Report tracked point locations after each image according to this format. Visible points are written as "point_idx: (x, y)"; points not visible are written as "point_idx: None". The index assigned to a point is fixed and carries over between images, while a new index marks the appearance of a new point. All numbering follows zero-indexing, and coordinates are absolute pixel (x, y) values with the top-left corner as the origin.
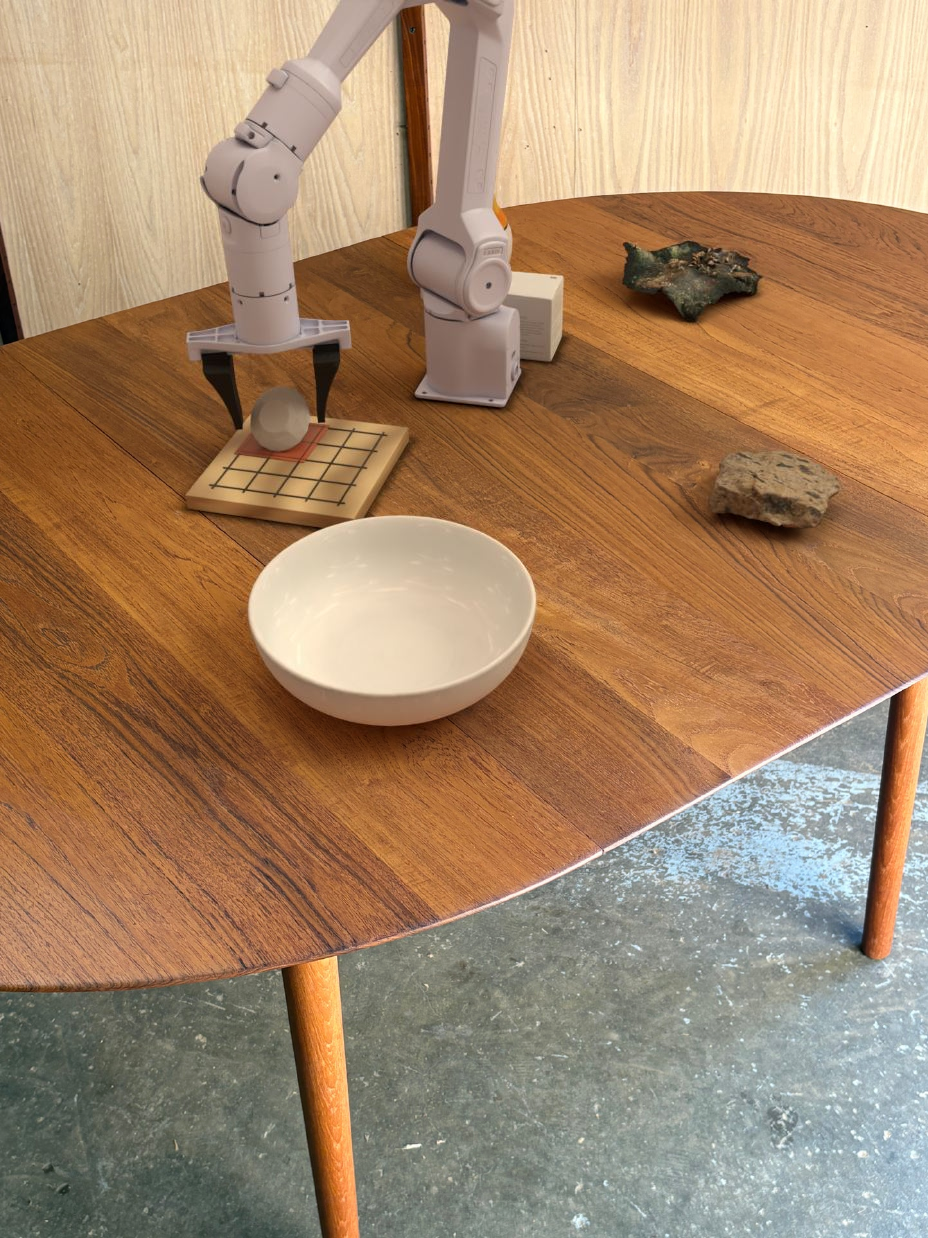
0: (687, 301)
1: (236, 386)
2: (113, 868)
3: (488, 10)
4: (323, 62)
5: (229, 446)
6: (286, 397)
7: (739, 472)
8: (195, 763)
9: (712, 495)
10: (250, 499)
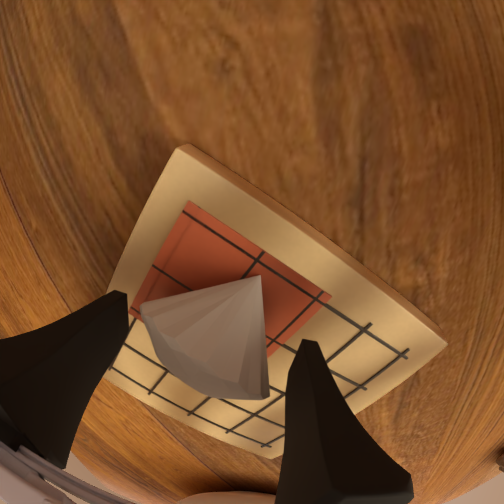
0: None
1: (80, 336)
2: (126, 490)
3: None
4: None
5: (119, 285)
6: (215, 391)
7: None
8: (147, 487)
9: (501, 466)
10: (158, 406)
